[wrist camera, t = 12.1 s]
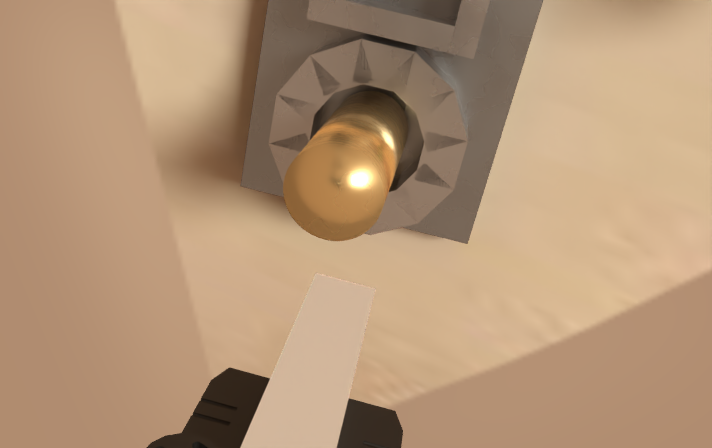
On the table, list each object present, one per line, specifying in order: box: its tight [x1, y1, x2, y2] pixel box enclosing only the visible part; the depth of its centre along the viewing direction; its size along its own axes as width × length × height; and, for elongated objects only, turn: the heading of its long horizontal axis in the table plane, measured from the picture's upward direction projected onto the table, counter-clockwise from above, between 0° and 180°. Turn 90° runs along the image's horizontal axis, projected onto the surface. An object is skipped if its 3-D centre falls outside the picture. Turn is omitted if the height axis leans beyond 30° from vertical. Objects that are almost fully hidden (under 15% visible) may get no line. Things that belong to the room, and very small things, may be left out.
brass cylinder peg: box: [283, 91, 408, 241], centre depth 30 cm, size 4×4×10 cm
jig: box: [241, 0, 543, 244], centre depth 33 cm, size 18×13×5 cm
